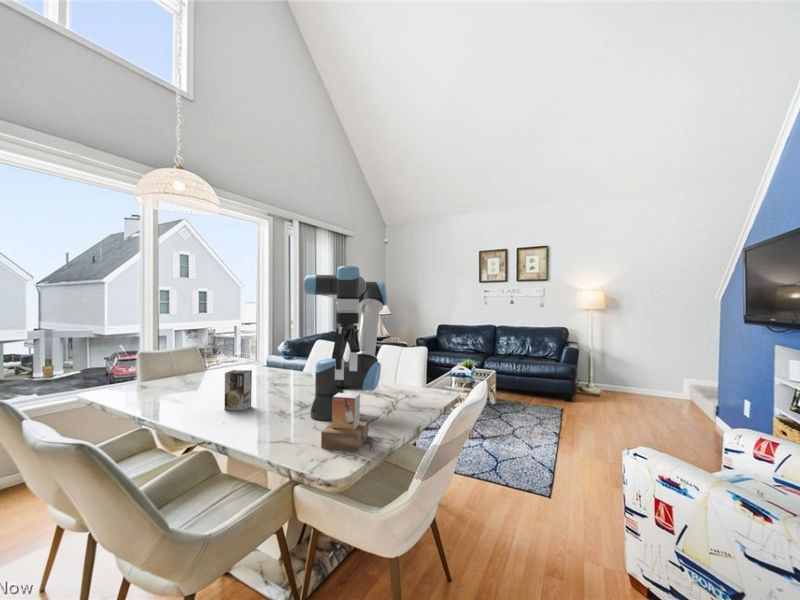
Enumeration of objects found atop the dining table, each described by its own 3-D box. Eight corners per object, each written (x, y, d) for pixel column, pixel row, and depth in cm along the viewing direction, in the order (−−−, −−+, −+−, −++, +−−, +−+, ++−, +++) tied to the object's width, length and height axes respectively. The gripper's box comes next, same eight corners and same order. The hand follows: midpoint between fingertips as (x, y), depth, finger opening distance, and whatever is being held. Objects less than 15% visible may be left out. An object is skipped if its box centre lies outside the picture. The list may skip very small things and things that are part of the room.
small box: (331, 428, 106) (331, 396, 106) (337, 422, 112) (338, 392, 112) (354, 430, 105) (355, 398, 105) (359, 424, 110) (360, 393, 111)
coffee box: (251, 406, 144) (252, 370, 144) (243, 411, 138) (244, 373, 138) (232, 405, 145) (233, 369, 145) (223, 410, 139) (224, 372, 139)
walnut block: (335, 433, 115) (335, 419, 115) (367, 436, 113) (368, 421, 113) (321, 447, 103) (321, 431, 103) (357, 451, 101) (357, 435, 101)
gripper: (349, 311, 122) (348, 367, 122) (321, 312, 97) (320, 383, 97) (368, 311, 121) (367, 368, 120) (345, 313, 96) (344, 384, 96)
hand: (346, 375), depth 109 cm, fingers open, 13 cm apart
